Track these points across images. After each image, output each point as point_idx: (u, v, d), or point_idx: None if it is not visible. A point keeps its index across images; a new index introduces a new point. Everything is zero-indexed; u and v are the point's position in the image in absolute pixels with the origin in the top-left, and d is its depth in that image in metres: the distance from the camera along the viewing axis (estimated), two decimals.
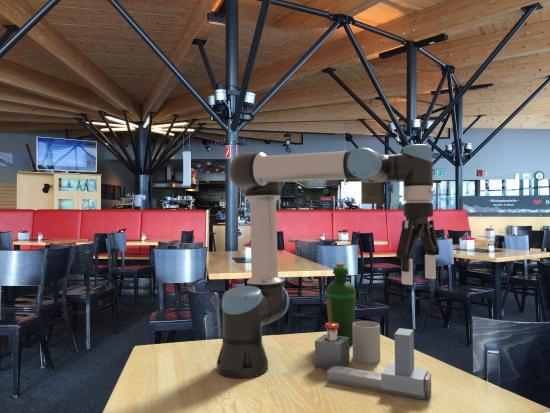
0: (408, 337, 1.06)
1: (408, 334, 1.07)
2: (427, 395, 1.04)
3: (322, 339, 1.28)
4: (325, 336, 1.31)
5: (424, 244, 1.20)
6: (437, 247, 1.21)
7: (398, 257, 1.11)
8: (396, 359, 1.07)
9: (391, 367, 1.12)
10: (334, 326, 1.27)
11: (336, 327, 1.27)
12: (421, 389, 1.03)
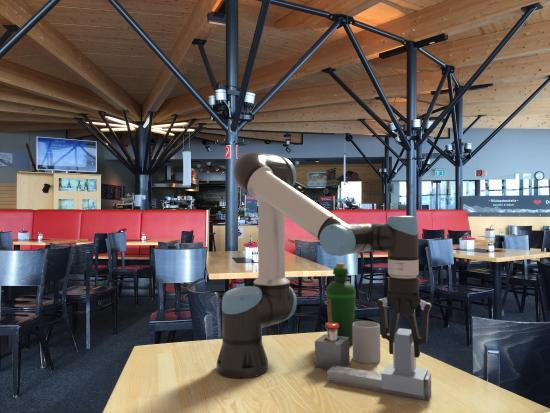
0: (408, 337, 1.06)
1: (408, 334, 1.07)
2: (427, 395, 1.04)
3: (322, 339, 1.28)
4: (325, 336, 1.31)
5: None
6: (423, 337, 1.06)
7: None
8: (396, 359, 1.07)
9: (391, 367, 1.12)
10: (334, 326, 1.27)
11: (336, 327, 1.27)
12: (421, 389, 1.03)
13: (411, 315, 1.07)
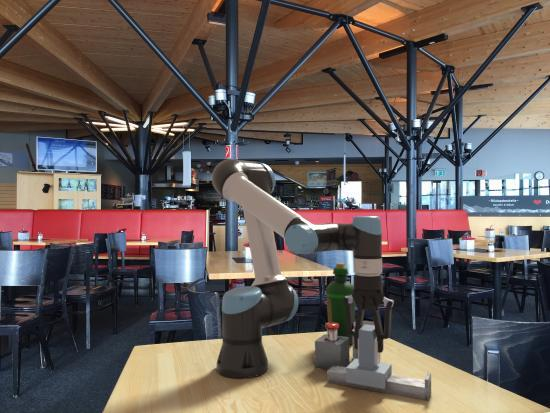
0: (371, 333, 1.10)
1: (372, 330, 1.11)
2: (427, 395, 1.04)
3: (322, 339, 1.28)
4: (325, 336, 1.31)
5: None
6: (385, 333, 1.10)
7: None
8: (360, 354, 1.11)
9: (357, 362, 1.16)
10: (334, 326, 1.27)
11: (336, 327, 1.27)
12: (383, 382, 1.08)
13: (374, 312, 1.11)
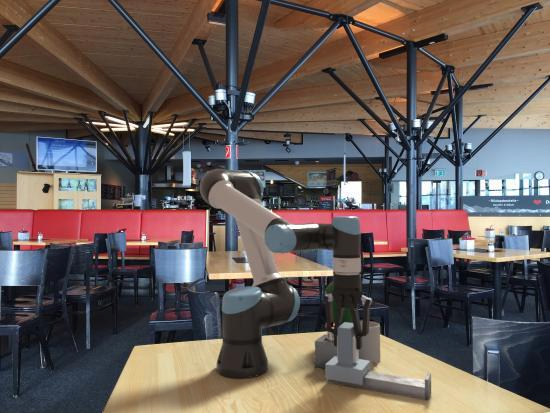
0: (349, 330, 1.13)
1: (350, 327, 1.14)
2: (427, 395, 1.04)
3: (322, 339, 1.28)
4: (325, 336, 1.31)
5: None
6: (363, 330, 1.13)
7: None
8: (339, 351, 1.14)
9: (336, 359, 1.19)
10: None
11: None
12: (360, 379, 1.10)
13: (353, 310, 1.14)
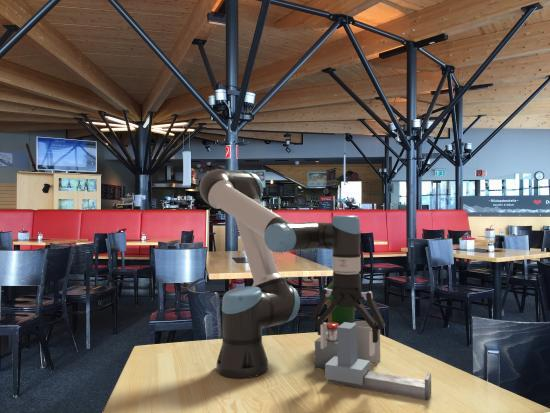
0: (349, 330, 1.13)
1: (350, 327, 1.14)
2: (427, 395, 1.04)
3: None
4: None
5: None
6: (379, 323, 1.11)
7: None
8: (339, 351, 1.14)
9: (336, 359, 1.19)
10: (334, 326, 1.27)
11: (336, 327, 1.27)
12: (360, 379, 1.10)
13: (357, 306, 1.13)
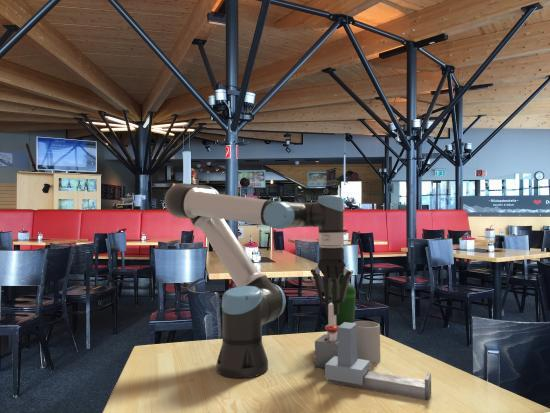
0: (349, 330, 1.13)
1: (350, 327, 1.14)
2: (427, 395, 1.04)
3: (322, 339, 1.28)
4: (325, 336, 1.31)
5: None
6: (340, 297, 1.26)
7: None
8: (339, 351, 1.14)
9: (336, 359, 1.19)
10: (334, 328, 1.27)
11: (336, 329, 1.27)
12: (360, 379, 1.10)
13: (334, 279, 1.27)
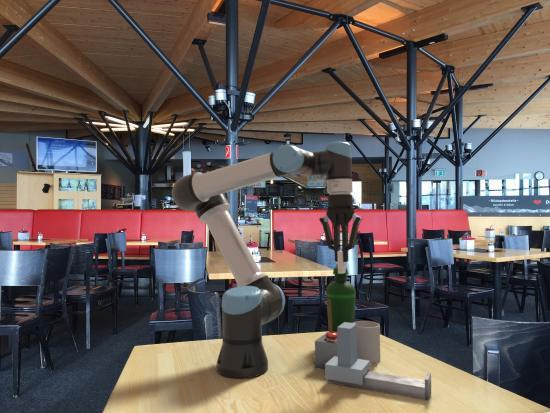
0: (349, 330, 1.13)
1: (350, 327, 1.14)
2: (427, 395, 1.04)
3: (322, 339, 1.28)
4: (325, 336, 1.31)
5: None
6: (350, 244, 1.26)
7: None
8: (339, 351, 1.14)
9: (336, 359, 1.19)
10: (334, 335, 1.27)
11: (336, 336, 1.27)
12: (360, 379, 1.10)
13: (344, 226, 1.26)
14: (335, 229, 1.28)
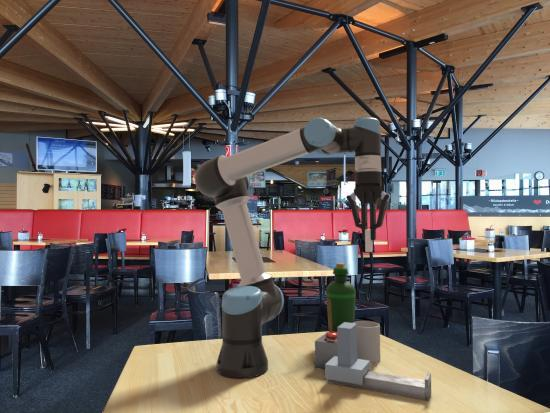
0: (349, 330, 1.13)
1: (350, 327, 1.14)
2: (427, 395, 1.04)
3: (322, 339, 1.28)
4: (325, 336, 1.31)
5: None
6: (378, 222, 1.24)
7: None
8: (339, 351, 1.14)
9: (336, 359, 1.19)
10: (334, 335, 1.27)
11: (336, 336, 1.27)
12: (360, 379, 1.10)
13: (372, 203, 1.24)
14: (363, 207, 1.26)
